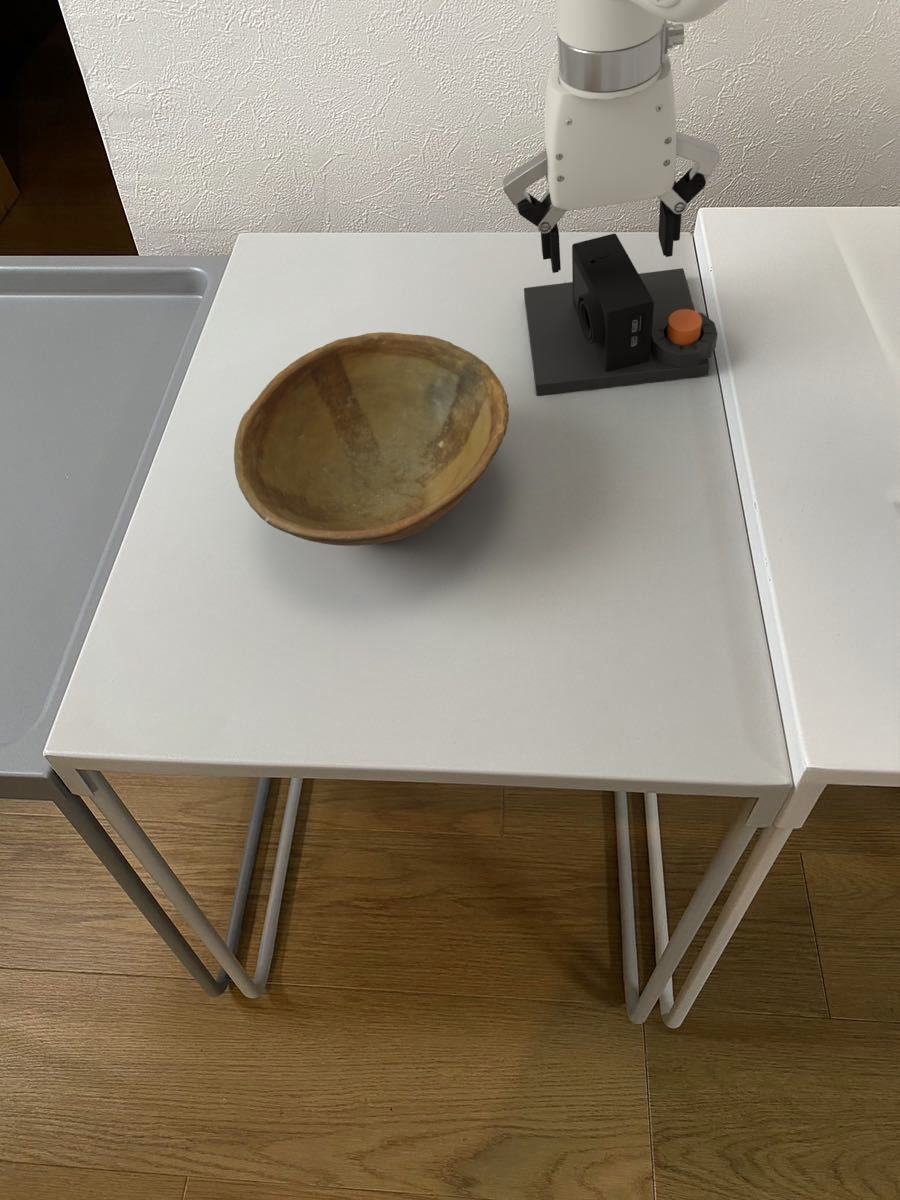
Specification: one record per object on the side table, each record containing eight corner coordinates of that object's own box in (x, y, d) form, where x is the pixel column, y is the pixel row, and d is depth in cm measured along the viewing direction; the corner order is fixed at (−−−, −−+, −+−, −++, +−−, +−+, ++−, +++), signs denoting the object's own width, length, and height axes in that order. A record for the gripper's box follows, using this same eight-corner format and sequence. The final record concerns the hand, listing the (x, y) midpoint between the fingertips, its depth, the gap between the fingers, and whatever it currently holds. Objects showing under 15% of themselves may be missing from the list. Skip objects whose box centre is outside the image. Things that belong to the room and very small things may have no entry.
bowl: (564, 529, 79) (562, 449, 71) (320, 651, 75) (288, 581, 67) (447, 378, 90) (433, 294, 82) (231, 477, 87) (194, 399, 79)
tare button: (696, 322, 87) (698, 307, 85) (702, 343, 85) (704, 328, 84) (664, 325, 87) (665, 310, 86) (669, 347, 85) (671, 332, 84)
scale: (691, 278, 94) (694, 252, 92) (718, 374, 86) (722, 350, 84) (524, 298, 95) (522, 274, 93) (536, 395, 88) (535, 372, 85)
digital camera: (560, 306, 92) (558, 245, 86) (613, 292, 92) (615, 231, 86) (593, 376, 86) (593, 315, 81) (649, 361, 86) (654, 300, 81)
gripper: (720, 8, 69) (701, 215, 83) (489, 47, 71) (508, 243, 85) (742, 59, 65) (718, 267, 79) (495, 98, 66) (514, 296, 80)
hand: (609, 255), depth 82 cm, fingers open, 9 cm apart
